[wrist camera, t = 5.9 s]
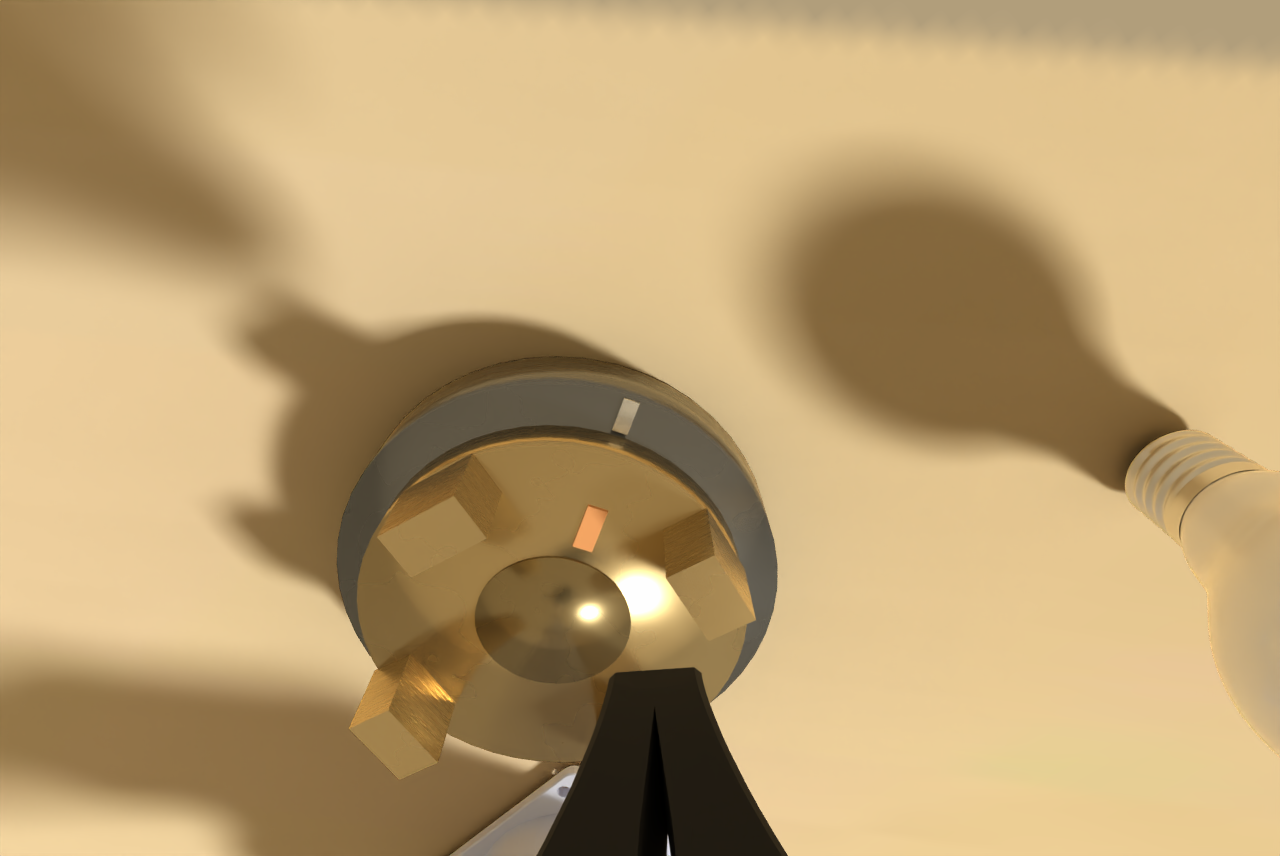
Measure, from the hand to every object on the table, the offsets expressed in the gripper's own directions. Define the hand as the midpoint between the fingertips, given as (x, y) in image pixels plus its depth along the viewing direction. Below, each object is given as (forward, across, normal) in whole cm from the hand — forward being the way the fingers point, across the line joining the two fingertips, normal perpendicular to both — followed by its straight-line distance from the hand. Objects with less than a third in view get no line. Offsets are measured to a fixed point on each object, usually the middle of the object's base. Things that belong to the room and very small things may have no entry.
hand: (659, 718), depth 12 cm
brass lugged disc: (+8, +3, +3) cm, 9 cm away
